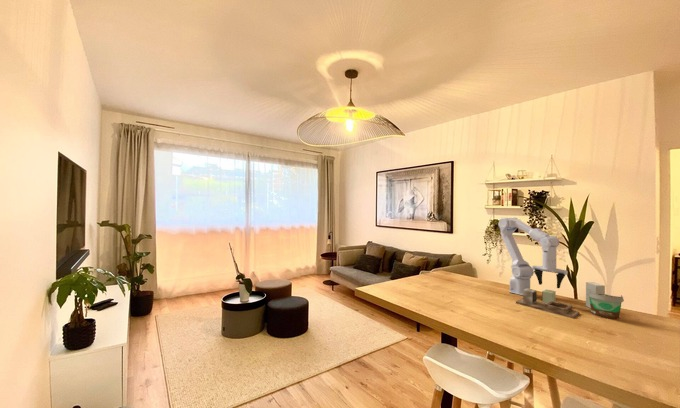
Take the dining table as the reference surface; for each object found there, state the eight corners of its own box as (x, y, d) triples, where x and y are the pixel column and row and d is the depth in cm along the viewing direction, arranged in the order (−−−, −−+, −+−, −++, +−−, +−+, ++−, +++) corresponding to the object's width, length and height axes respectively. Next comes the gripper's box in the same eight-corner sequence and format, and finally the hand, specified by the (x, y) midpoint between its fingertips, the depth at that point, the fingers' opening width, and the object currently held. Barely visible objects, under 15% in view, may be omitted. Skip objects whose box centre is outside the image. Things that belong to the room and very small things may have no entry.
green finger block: (541, 302, 143) (541, 290, 143) (545, 300, 146) (545, 289, 146) (552, 304, 139) (552, 292, 139) (555, 302, 142) (555, 291, 142)
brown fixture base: (515, 303, 141) (515, 289, 141) (523, 299, 146) (523, 286, 146) (573, 318, 122) (573, 302, 122) (579, 313, 128) (579, 298, 128)
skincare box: (605, 310, 132) (605, 285, 132) (596, 310, 132) (596, 285, 132) (593, 306, 138) (594, 282, 138) (585, 306, 138) (585, 282, 138)
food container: (591, 316, 124) (591, 294, 124) (587, 312, 130) (587, 291, 130) (629, 322, 118) (629, 299, 119) (622, 317, 124) (623, 295, 124)
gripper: (569, 261, 139) (569, 288, 139) (535, 256, 151) (535, 281, 151) (565, 262, 135) (565, 290, 135) (530, 258, 147) (530, 283, 146)
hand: (549, 286), depth 142 cm, fingers open, 7 cm apart
